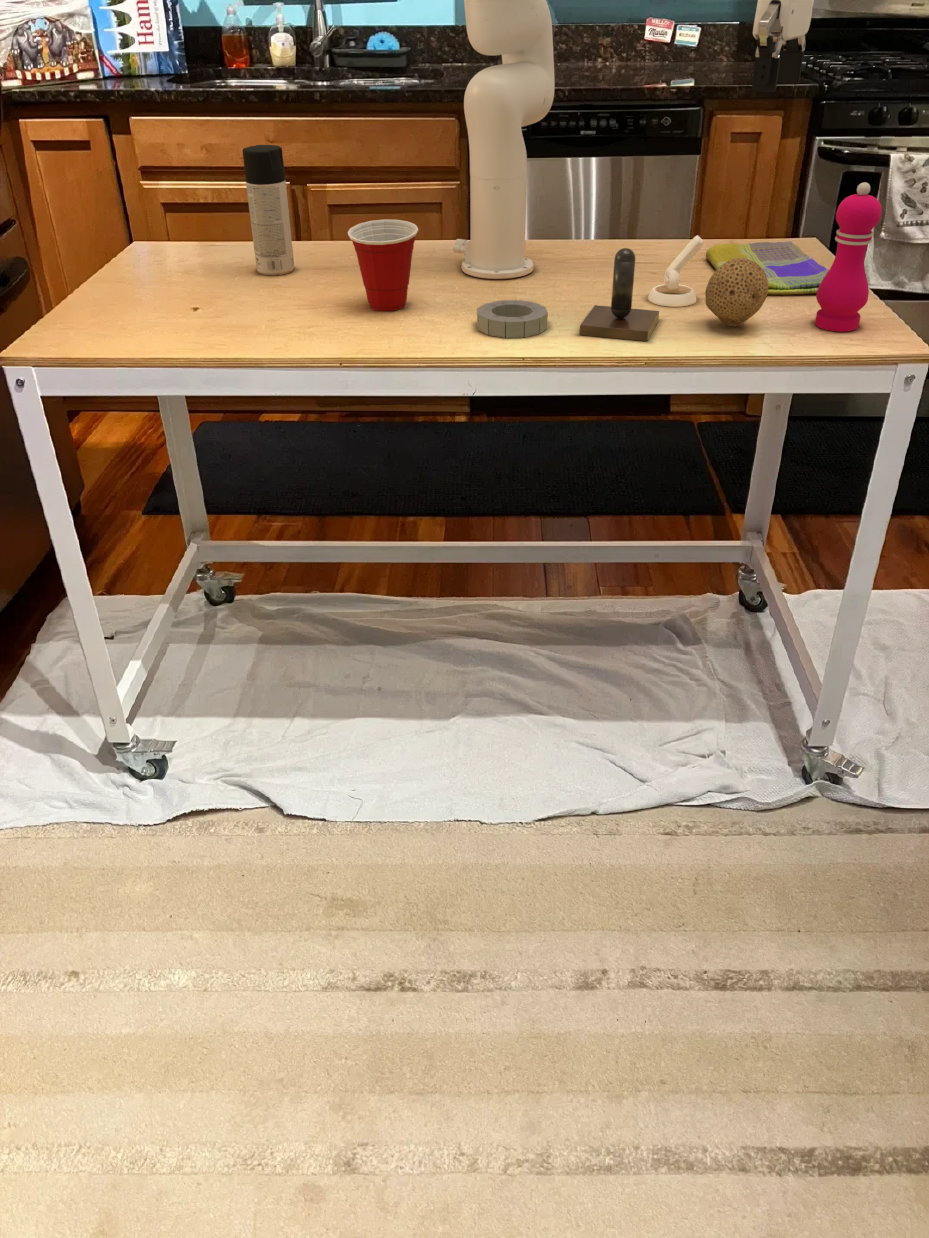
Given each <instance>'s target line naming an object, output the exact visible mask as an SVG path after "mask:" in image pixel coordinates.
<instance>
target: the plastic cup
mask: <svg viewBox="0 0 929 1238" xmlns="http://www.w3.org/2000/svg"><path fill="white" fill-rule="evenodd" d="M418 232H419V228H418V226H417V224H416V223H413V222H410V221H407V220H402V219H401V220H400V219H376V220H368V221H365V222H361V223H358V224H355V225H354V226H352V227H350V228H349V229H348V231H347V235H348V237H349V240H351V242H352V246H353V247H354V251H355V253H356V257H357V261H358V266H359V271H360V274H361V279H362V283H363V286H364V288H365V294H366V298H367V299H366V300H367V303H368V305H369V308H370V309H372V310H374V311H379V312H392V311H393V312H394V311H399V310H402V309H404V307H406V303H407V298H408V291H409V290H408V289H409V285H410V277H411V269H412V259H413V251H414V246H415V241H416V236H417V234H418Z"/></svg>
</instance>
